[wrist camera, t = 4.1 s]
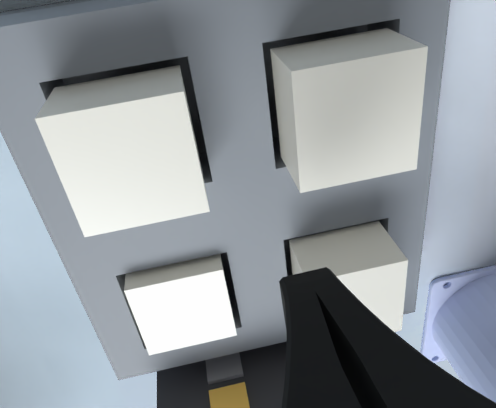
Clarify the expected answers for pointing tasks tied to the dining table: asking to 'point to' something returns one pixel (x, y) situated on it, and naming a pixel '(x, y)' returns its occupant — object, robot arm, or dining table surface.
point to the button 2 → (181, 304)
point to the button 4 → (359, 266)
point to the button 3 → (349, 107)
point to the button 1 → (125, 150)
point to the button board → (210, 168)
